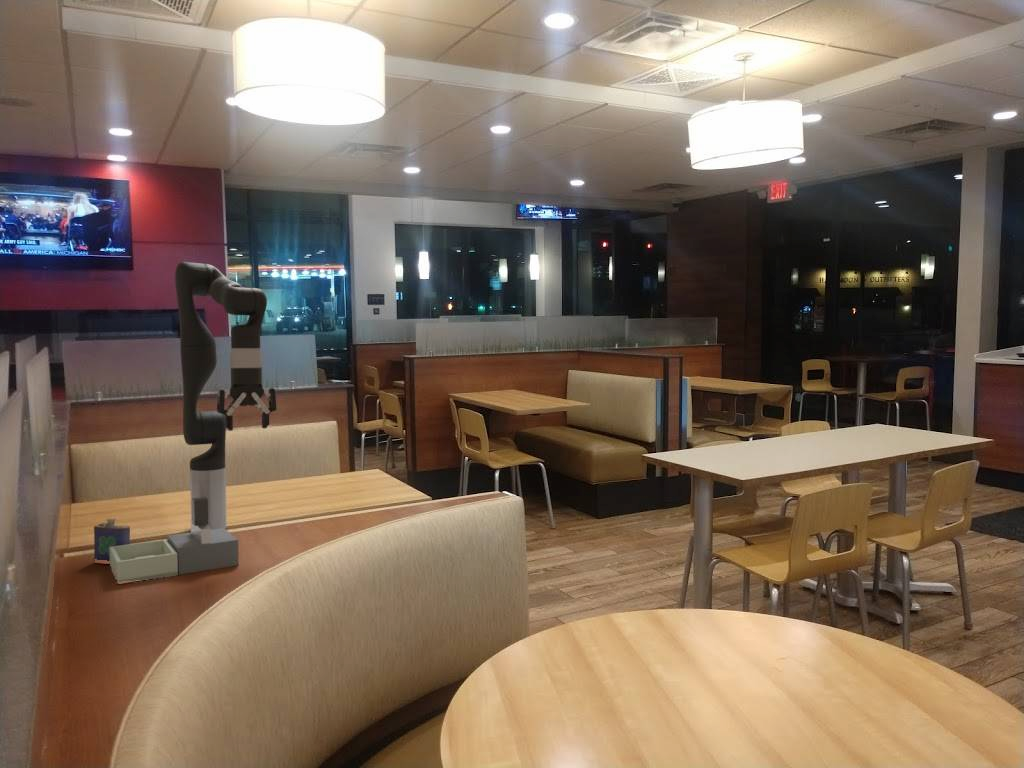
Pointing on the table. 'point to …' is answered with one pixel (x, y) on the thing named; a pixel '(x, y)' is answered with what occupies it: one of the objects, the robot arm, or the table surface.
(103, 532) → the flask
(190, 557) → the grey slotted block
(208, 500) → the robot arm
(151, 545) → the box
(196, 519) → the scraper
